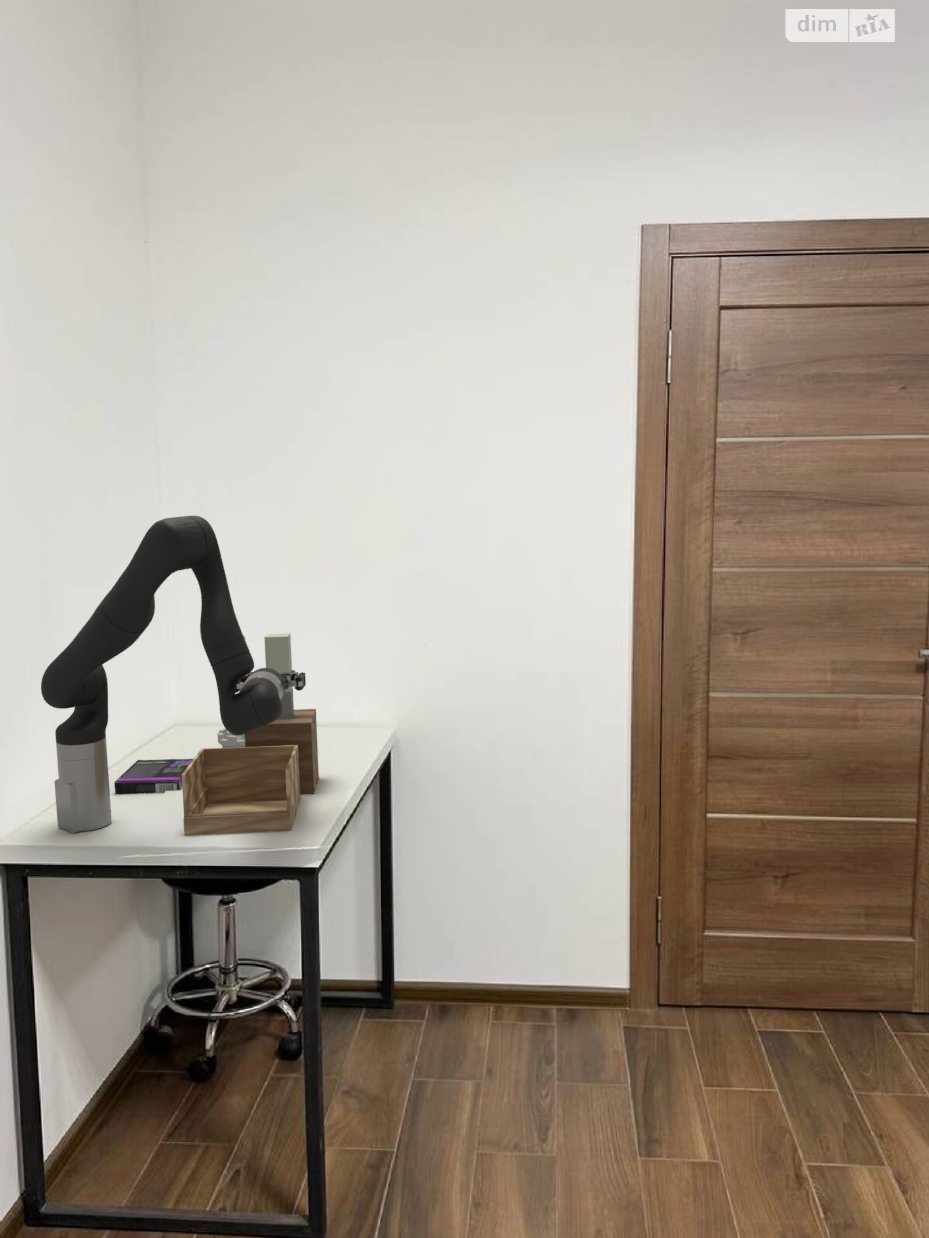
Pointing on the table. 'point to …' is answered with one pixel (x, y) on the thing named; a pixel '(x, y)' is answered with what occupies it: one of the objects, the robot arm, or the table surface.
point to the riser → (293, 743)
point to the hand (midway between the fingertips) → (272, 675)
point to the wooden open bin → (241, 790)
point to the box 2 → (281, 666)
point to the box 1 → (152, 776)
